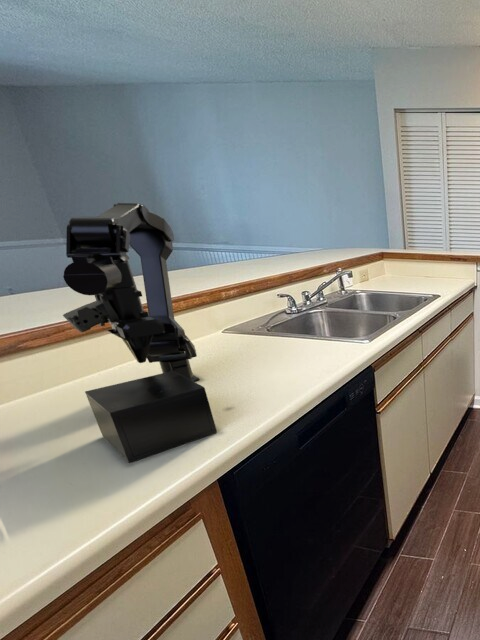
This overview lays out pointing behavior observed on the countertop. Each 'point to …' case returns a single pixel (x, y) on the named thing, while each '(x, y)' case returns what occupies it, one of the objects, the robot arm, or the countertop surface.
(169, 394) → the black slanted wedge box
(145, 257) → the robot arm
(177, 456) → the countertop surface
